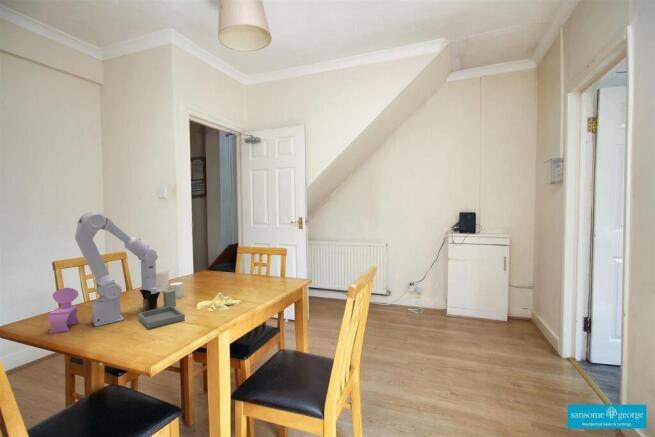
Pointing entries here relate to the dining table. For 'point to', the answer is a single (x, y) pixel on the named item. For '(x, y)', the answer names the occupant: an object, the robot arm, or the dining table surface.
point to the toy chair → (63, 310)
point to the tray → (161, 317)
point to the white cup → (162, 280)
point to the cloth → (218, 303)
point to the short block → (147, 306)
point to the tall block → (169, 298)
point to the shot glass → (177, 289)
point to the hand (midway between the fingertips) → (150, 306)
